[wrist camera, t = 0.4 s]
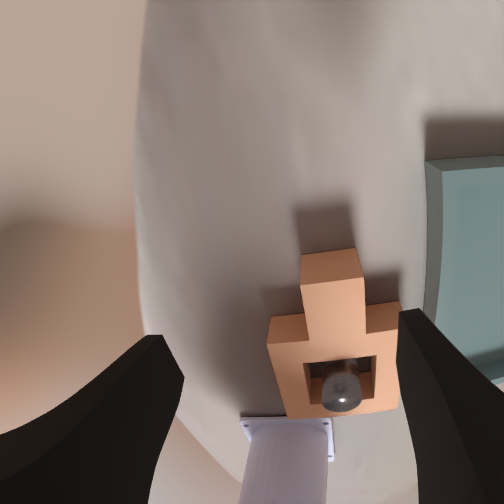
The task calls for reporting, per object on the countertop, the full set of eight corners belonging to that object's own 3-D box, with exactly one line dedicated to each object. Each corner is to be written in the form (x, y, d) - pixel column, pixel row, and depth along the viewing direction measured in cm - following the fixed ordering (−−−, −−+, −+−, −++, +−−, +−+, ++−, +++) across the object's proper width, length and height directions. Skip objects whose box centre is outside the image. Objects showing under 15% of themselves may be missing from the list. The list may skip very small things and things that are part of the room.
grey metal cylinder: (357, 364, 20) (361, 409, 17) (323, 368, 21) (323, 413, 18) (356, 340, 19) (362, 387, 16) (320, 344, 20) (320, 391, 17)
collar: (392, 382, 21) (397, 413, 18) (290, 393, 23) (287, 424, 20) (399, 241, 16) (414, 269, 13) (257, 260, 18) (248, 291, 15)
